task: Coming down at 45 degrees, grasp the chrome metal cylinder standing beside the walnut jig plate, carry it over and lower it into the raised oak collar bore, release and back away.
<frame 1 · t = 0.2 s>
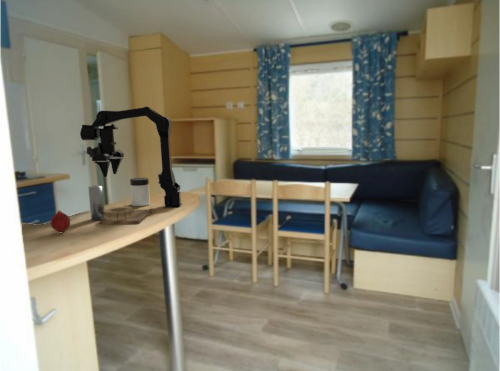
hand: (110, 175, 158), 14 cm above the table, tool pointing down, fingers open, 9 cm apart
pomegranate: (61, 233, 122), on the table
chrome metal cylinder: (98, 219, 139), on the table
jig: (127, 217, 141), on the table
jar: (140, 204, 165), on the table
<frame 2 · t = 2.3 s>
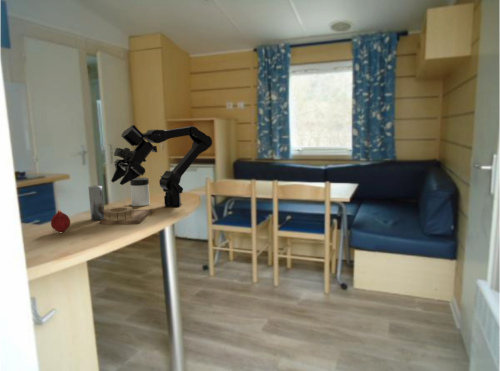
hand: (116, 183, 142), 13 cm above the table, tool tilted 45°, fingers open, 9 cm apart
nothing on the table moved.
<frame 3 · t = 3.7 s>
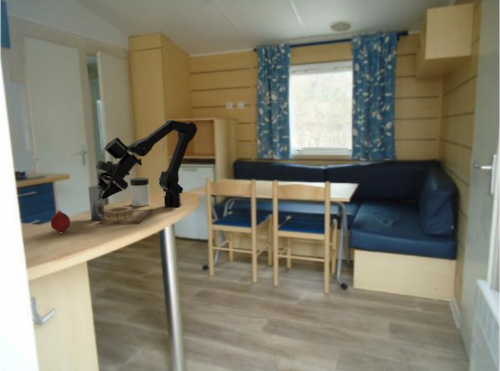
hand: (97, 196, 138), 9 cm above the table, tool tilted 45°, fingers open, 9 cm apart
nothing on the table moved.
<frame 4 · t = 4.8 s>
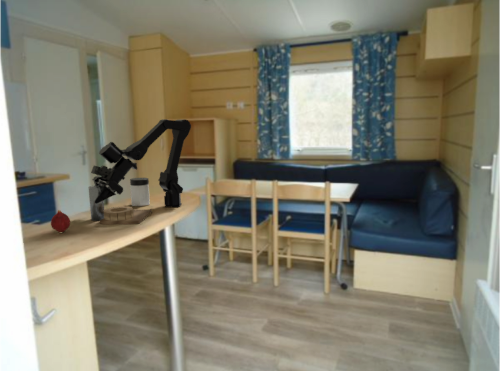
hand: (93, 201, 137), 7 cm above the table, tool tilted 45°, fingers closed on chrome metal cylinder, 5 cm apart
chrome metal cylinder: (98, 219, 139), on the table, touching gripper
everything else where it was.
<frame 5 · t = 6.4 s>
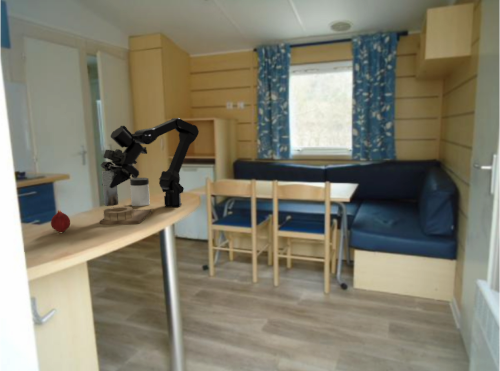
hand: (106, 186, 135), 13 cm above the table, tool tilted 45°, fingers closed on chrome metal cylinder, 5 cm apart
chrome metal cylinder: (111, 204, 137), point 6 cm above the table, touching gripper
everything else where it was.
when the fingers open (9 cm above the table, at t = 7.9 s): chrome metal cylinder drops 1 cm, resting on jig.
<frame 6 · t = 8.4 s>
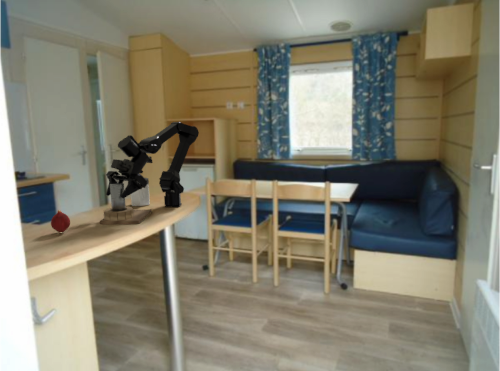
hand: (114, 196, 135), 10 cm above the table, tool tilted 45°, fingers open, 9 cm apart
chrome metal cylinder: (119, 217, 137), point 1 cm above the table, touching jig
everything else where it was.
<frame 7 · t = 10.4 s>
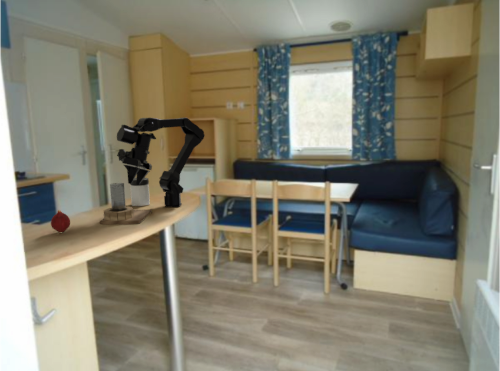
hand: (133, 184, 146), 12 cm above the table, tool tilted 15°, fingers open, 9 cm apart
nothing on the table moved.
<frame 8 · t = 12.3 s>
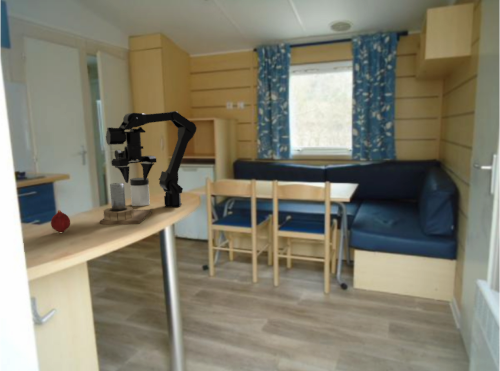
hand: (136, 181, 149), 13 cm above the table, tool pointing down, fingers open, 9 cm apart
nothing on the table moved.
at the end: chrome metal cylinder 0.1 cm from the target spot on the jig, point 1.2 cm above the jig's base; chrome metal cylinder tilted 0°; the gripper is holding nothing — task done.
